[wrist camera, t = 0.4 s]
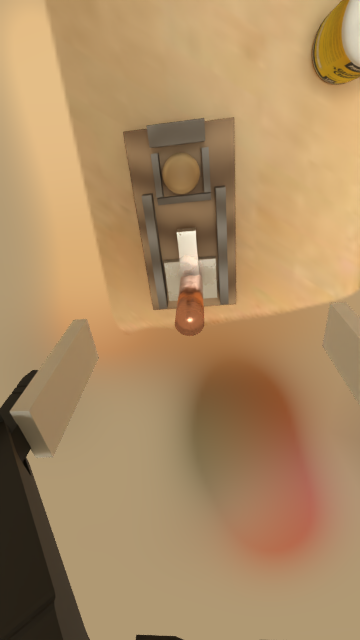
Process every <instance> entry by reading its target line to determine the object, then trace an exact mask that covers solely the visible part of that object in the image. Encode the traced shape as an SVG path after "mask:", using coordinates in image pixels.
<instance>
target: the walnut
mask: <svg viewBox="0 0 360 640" xmlns="http://www.w3.org/2000/svg"><path fill="white" fill-rule="evenodd" d="M162 174H163V180H164V183H165V185H166V186H167V188H168V189H169V190H171V191H172V192H174V193H177V194H186V193H188V192H190V191H192V190H193V189H194V188H195V186H196V185H197V183H198V181H199V177H200V170H199V166H198V163H197V161H196V160H195V159H194V158H193V157H192V156H191V155H189V154H187V153H182V152H181V153H176V154H173V155H172V156H170V157H169V158H168V159H167V160H166V162H165V164H164V167H163V173H162Z"/></svg>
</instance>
